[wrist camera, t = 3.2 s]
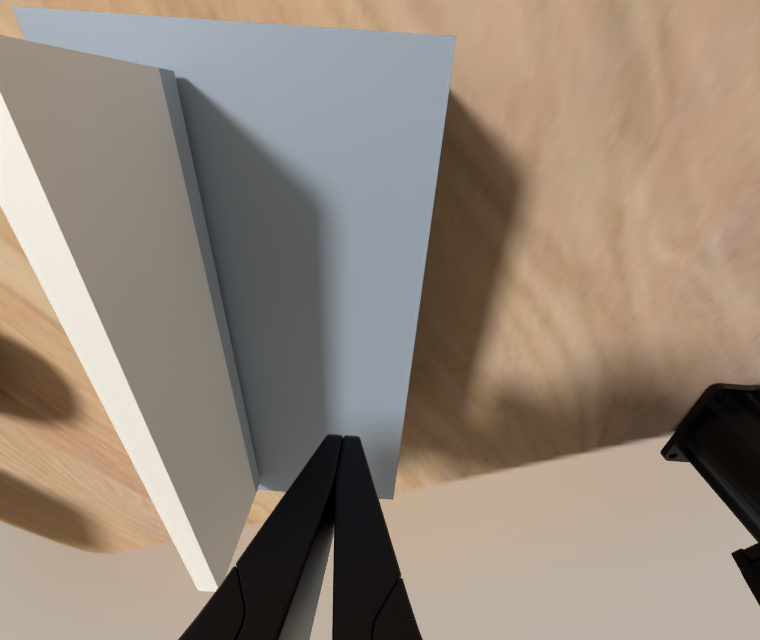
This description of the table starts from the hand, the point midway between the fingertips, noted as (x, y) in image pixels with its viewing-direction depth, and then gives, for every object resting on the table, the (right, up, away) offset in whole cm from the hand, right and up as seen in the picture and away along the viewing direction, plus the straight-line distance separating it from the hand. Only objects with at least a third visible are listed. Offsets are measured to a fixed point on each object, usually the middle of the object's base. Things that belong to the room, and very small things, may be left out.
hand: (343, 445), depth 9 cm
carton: (-3, +5, +9) cm, 10 cm away
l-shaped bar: (-6, +2, +3) cm, 7 cm away
